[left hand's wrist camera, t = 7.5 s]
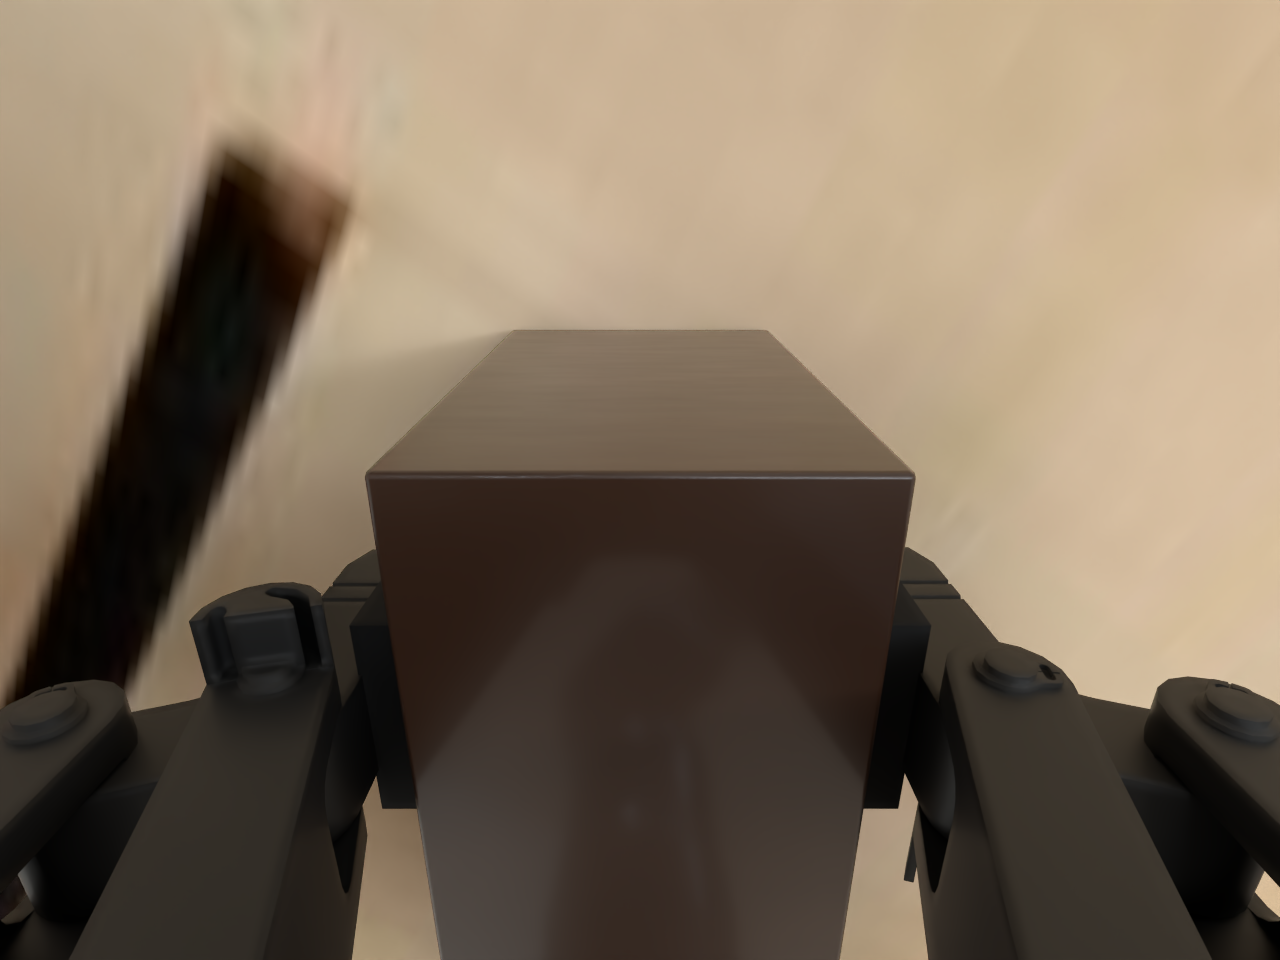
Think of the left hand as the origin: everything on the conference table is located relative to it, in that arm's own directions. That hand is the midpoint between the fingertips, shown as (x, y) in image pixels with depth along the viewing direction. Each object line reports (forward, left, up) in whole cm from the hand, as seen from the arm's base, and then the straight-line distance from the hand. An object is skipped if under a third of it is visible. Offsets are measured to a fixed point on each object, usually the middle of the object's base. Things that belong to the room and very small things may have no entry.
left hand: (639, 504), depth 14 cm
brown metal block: (+10, -4, -1) cm, 11 cm away
